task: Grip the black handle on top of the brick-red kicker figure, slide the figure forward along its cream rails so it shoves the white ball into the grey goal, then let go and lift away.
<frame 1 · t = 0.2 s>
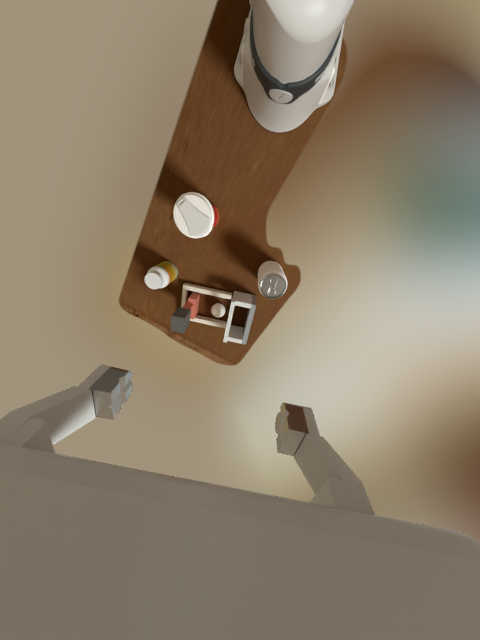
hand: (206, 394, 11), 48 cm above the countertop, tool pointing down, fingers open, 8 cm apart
goal: (238, 311, 61), on the countertop
track: (206, 304, 61), on the countertop
paper cup: (208, 215, 51), on the countertop
ball: (218, 310, 59), point 2 cm above the countertop
can: (269, 272, 56), on the countertop
supplement bottle: (168, 270, 57), on the countertop
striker: (186, 312, 54), point 7 cm above the countertop, slide at 0.0 cm
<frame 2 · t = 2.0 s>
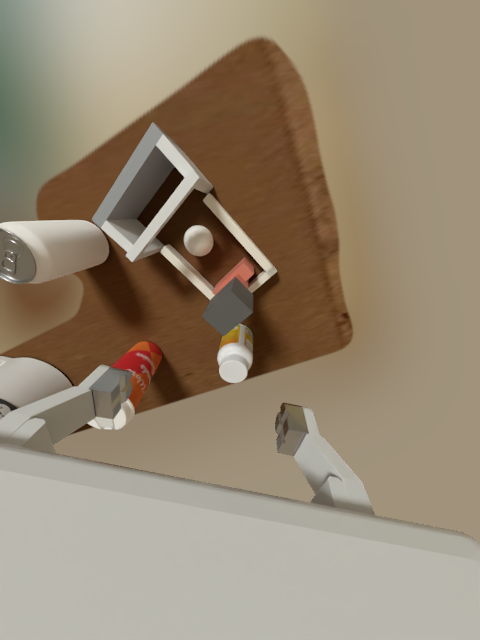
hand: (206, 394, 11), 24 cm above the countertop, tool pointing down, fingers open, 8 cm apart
goal: (171, 207, 29), on the countertop
track: (220, 259, 32), on the countertop
paper cup: (148, 352, 41), on the countertop
ball: (198, 241, 29), point 2 cm above the countertop
can: (90, 243, 32), on the countertop
supplement bottle: (238, 335, 38), on the countertop
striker: (233, 291, 26), point 7 cm above the countertop, slide at 0.0 cm
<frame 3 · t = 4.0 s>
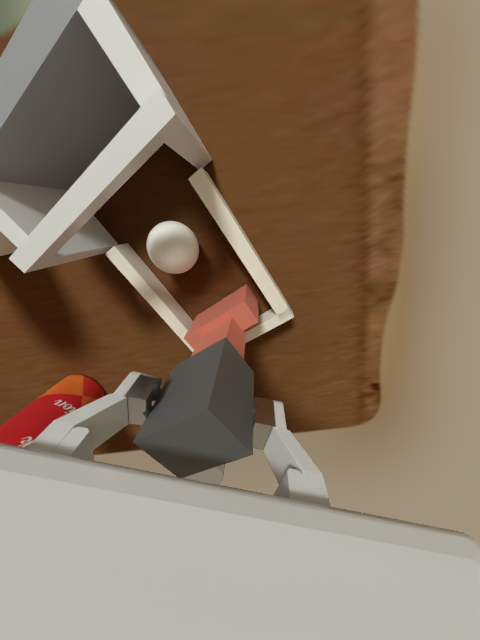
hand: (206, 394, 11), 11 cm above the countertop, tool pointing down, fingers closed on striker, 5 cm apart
goal: (134, 181, 17), on the countertop
track: (207, 280, 20), on the countertop
paper cup: (85, 388, 28), on the countertop
ball: (173, 248, 17), point 2 cm above the countertop
supplement bottle: (218, 387, 26), on the countertop
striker: (218, 352, 15), point 7 cm above the countertop, slide at 0.0 cm, touching gripper
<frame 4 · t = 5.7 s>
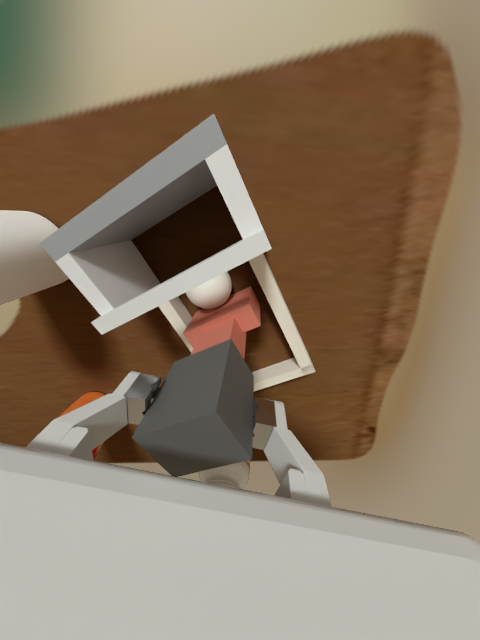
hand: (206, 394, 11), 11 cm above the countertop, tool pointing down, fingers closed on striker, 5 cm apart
goal: (191, 241, 18), on the countertop
track: (240, 328, 22), on the countertop
paper cup: (102, 404, 29), on the countertop
ball: (208, 285, 18), point 2 cm above the countertop, tilted 55°
can: (45, 249, 20), on the countertop
supplement bottle: (230, 416, 28), on the countertop
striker: (218, 352, 15), point 7 cm above the countertop, slide at 6.0 cm, touching gripper
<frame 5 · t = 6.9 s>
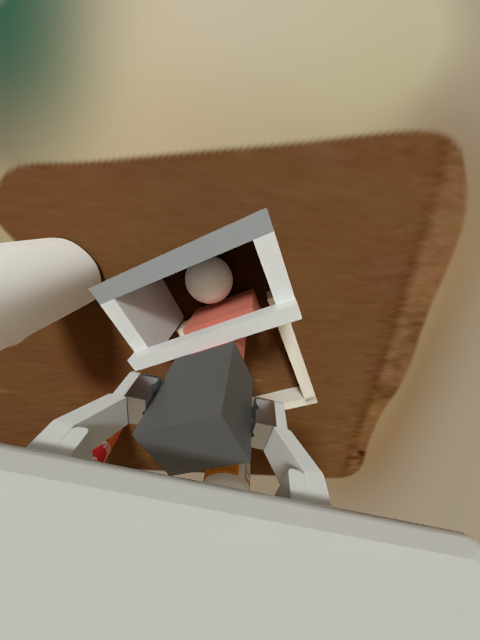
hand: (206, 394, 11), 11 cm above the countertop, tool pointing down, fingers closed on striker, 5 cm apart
goal: (215, 278, 20), on the countertop
track: (252, 357, 24), on the countertop
paper cup: (107, 414, 30), on the countertop
ball: (209, 280, 18), point 2 cm above the countertop, tilted 177°
can: (73, 271, 21), on the countertop
supplement bottle: (232, 433, 30), on the countertop
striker: (218, 352, 15), point 7 cm above the countertop, slide at 9.8 cm, touching goal, gripper
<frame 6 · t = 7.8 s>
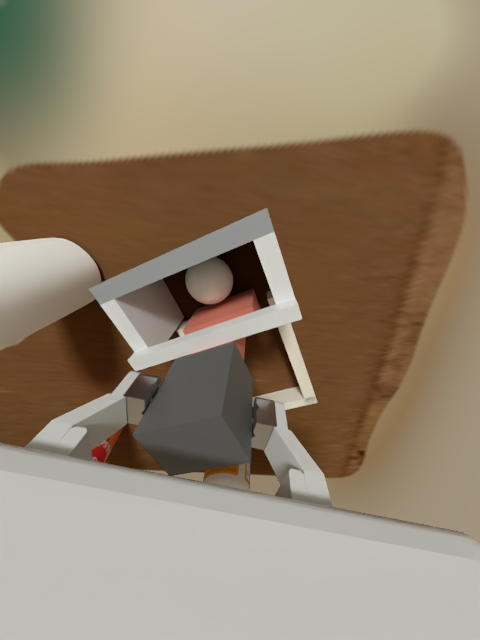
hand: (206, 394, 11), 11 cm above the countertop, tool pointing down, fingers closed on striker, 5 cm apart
goal: (215, 278, 20), on the countertop
track: (252, 357, 24), on the countertop
paper cup: (107, 414, 30), on the countertop
ball: (209, 280, 18), point 2 cm above the countertop, tilted 175°
can: (73, 271, 21), on the countertop
supplement bottle: (232, 433, 30), on the countertop
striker: (218, 352, 15), point 7 cm above the countertop, slide at 9.8 cm, touching goal, gripper
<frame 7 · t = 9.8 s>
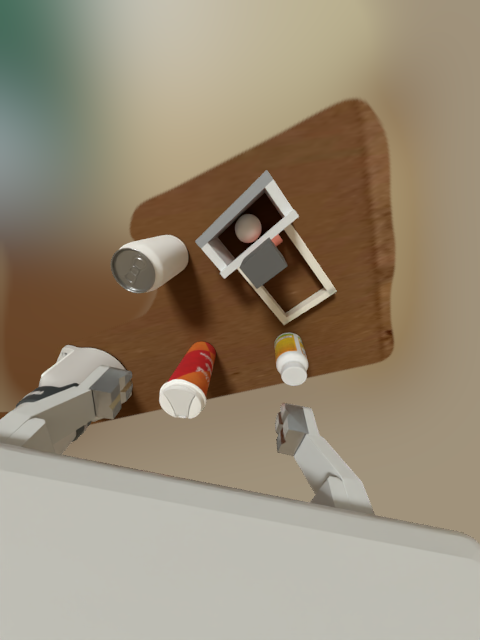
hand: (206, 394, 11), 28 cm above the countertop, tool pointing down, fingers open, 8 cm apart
goal: (250, 229, 33), on the countertop
track: (285, 276, 36), on the countertop
paper cup: (203, 351, 45), on the countertop
ball: (248, 228, 32), point 2 cm above the countertop, tilted 172°
can: (171, 254, 37), on the countertop
supplement bottle: (288, 342, 42), on the countertop
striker: (263, 255, 28), point 7 cm above the countertop, slide at 9.8 cm, touching goal
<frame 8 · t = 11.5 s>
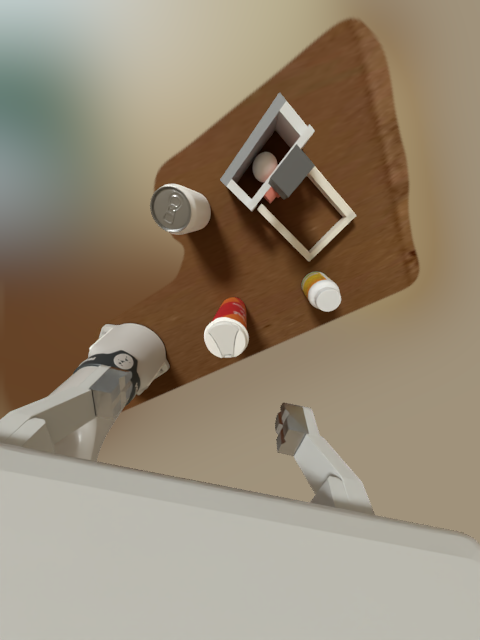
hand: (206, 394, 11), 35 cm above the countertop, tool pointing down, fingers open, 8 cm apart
goal: (265, 170, 36), on the countertop
track: (303, 212, 38), on the countertop
paper cup: (233, 308, 47), on the countertop
ball: (264, 167, 34), point 2 cm above the countertop, tilted 169°
can: (194, 211, 39), on the countertop
supplement bottle: (314, 283, 44), on the countertop
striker: (285, 180, 30), point 7 cm above the countertop, slide at 9.8 cm, touching goal
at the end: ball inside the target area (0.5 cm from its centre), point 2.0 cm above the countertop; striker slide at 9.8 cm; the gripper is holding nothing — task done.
